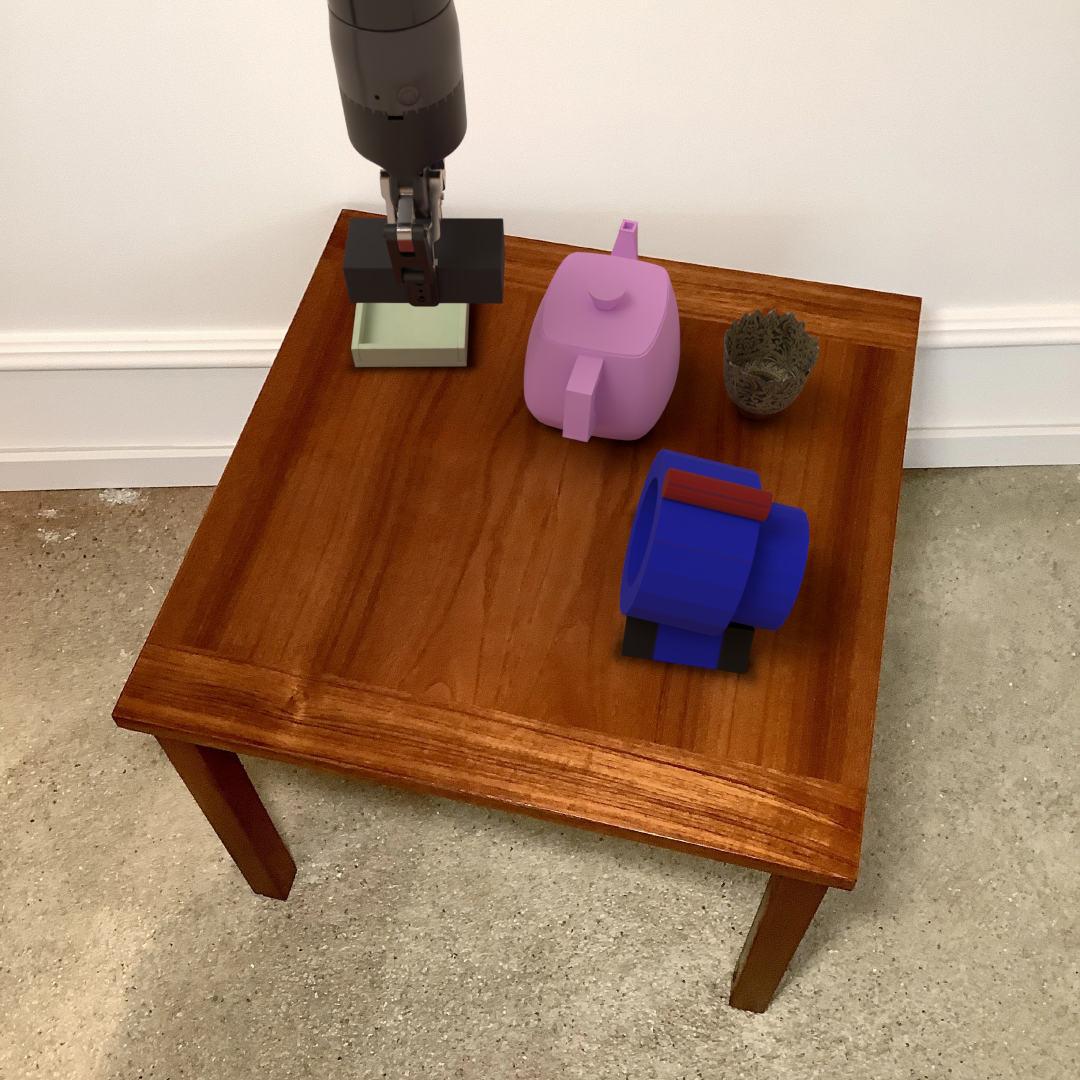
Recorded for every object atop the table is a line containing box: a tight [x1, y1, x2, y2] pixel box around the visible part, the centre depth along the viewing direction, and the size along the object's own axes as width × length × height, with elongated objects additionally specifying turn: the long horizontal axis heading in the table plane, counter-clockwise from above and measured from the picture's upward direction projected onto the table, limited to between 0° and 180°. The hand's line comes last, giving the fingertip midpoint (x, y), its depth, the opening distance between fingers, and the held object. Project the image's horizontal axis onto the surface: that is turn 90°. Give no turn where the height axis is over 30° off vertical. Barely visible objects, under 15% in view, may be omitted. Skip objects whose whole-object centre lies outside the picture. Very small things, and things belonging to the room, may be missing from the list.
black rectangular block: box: [342, 217, 506, 305], centre depth 78 cm, size 11×5×4 cm, turn 89°
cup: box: [722, 308, 821, 421], centre depth 89 cm, size 8×7×8 cm
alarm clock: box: [619, 448, 810, 675], centre depth 76 cm, size 12×12×15 cm
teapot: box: [523, 218, 681, 443], centre depth 88 cm, size 20×12×13 cm, turn 166°
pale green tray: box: [350, 303, 470, 368], centre depth 98 cm, size 10×15×2 cm, turn 0°
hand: (427, 274), depth 79 cm, fingers closed on black rectangular block, 5 cm apart
